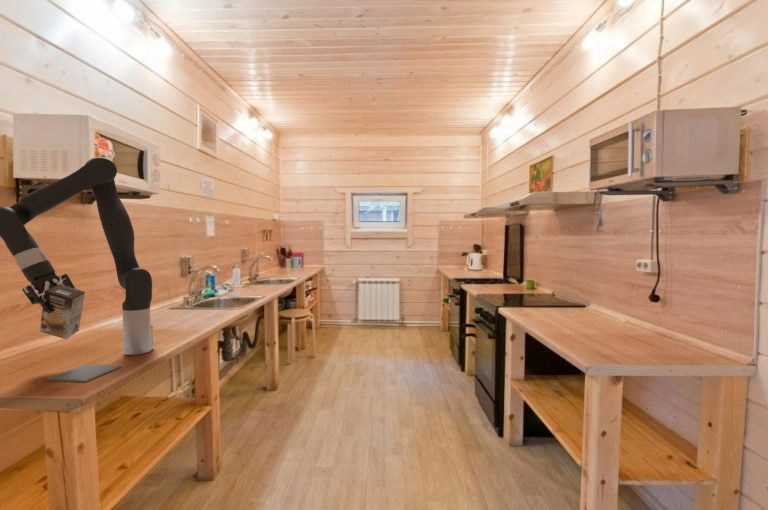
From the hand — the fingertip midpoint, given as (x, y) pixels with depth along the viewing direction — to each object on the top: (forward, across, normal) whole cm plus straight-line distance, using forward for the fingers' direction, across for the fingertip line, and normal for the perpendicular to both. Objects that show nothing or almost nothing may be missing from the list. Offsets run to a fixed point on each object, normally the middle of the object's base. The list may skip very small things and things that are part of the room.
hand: (62, 307), depth 132 cm
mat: (+23, -6, 0) cm, 24 cm away
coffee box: (+7, 0, +7) cm, 10 cm away
